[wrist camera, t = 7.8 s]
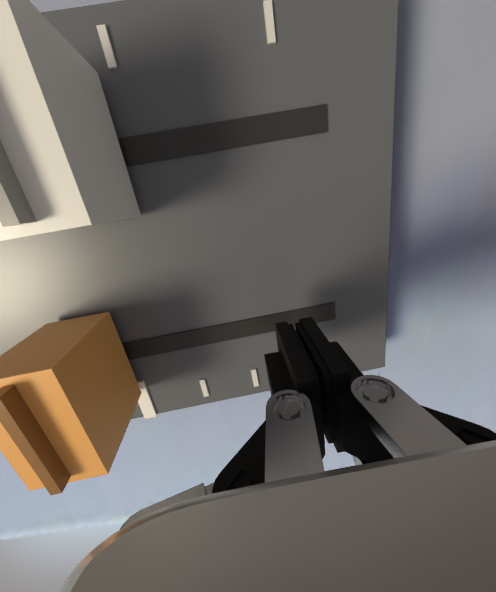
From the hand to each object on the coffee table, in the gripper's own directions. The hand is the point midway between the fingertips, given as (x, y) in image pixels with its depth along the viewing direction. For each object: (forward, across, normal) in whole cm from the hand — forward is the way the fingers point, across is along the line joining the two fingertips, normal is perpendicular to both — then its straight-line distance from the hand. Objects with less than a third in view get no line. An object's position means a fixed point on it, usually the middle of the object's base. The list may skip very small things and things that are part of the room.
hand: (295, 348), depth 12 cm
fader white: (+2, +7, -9) cm, 12 cm away
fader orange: (+2, +10, 0) cm, 10 cm away
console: (+5, +5, -5) cm, 8 cm away
